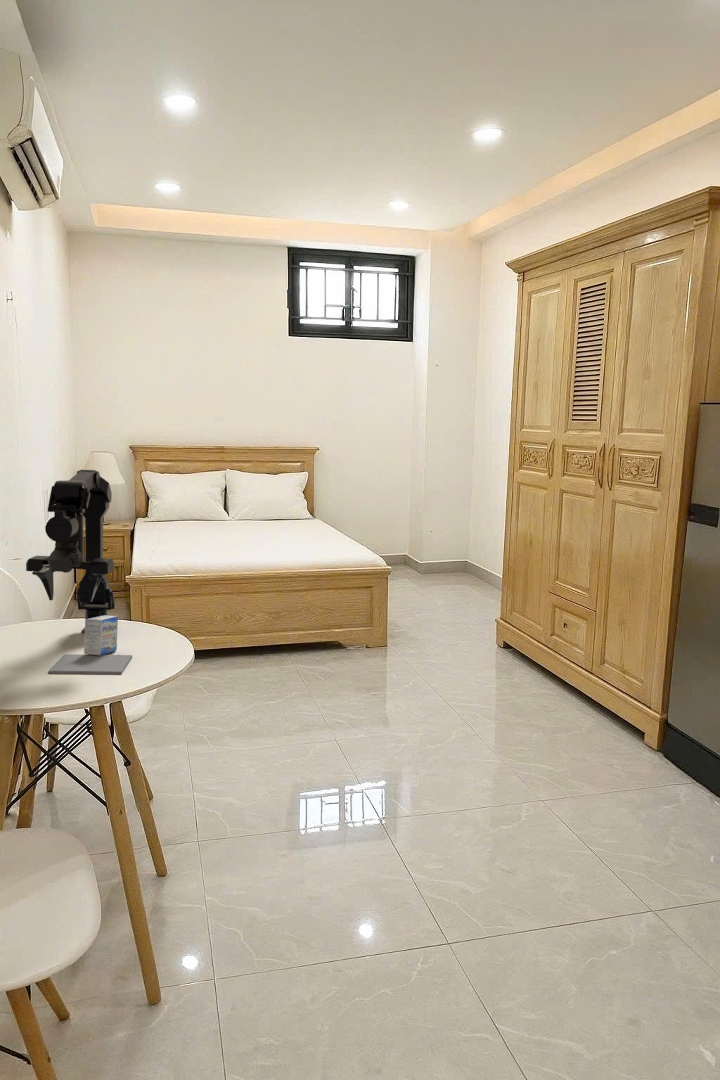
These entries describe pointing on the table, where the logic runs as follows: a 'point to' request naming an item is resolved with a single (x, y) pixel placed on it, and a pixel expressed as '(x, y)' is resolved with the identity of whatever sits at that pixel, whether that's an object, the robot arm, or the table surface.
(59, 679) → the table surface
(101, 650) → the medicine box
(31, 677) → the table surface
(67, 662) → the mat
